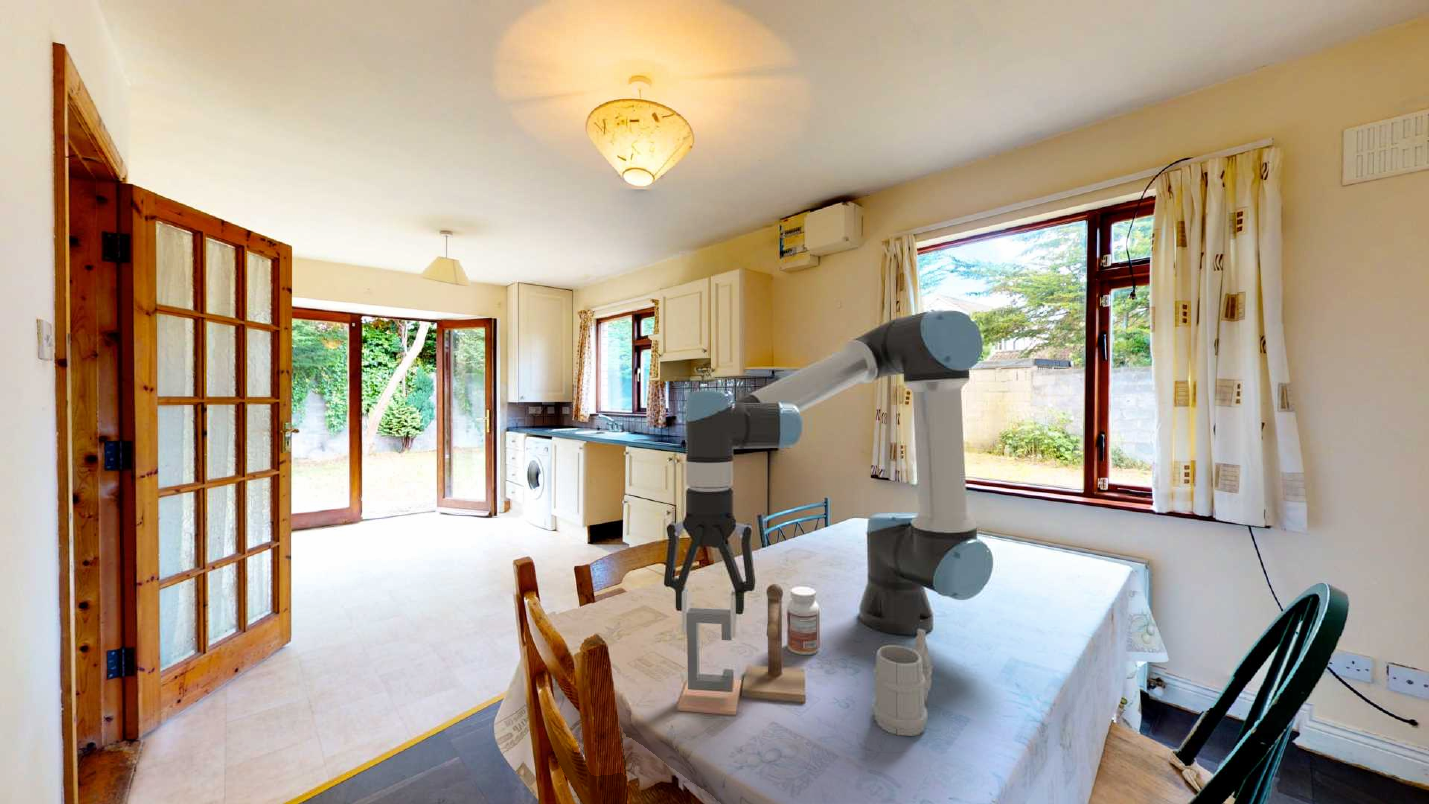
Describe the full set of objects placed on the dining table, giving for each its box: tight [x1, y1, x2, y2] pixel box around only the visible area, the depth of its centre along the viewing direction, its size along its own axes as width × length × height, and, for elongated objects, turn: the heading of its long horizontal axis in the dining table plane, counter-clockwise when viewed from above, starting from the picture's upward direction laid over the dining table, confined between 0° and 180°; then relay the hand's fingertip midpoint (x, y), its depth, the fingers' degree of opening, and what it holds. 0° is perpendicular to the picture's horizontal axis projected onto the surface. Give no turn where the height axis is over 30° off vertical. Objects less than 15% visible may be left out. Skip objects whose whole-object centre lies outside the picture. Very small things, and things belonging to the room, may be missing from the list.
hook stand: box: [741, 583, 807, 703], centre depth 84 cm, size 14×10×16 cm
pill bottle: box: [786, 586, 821, 656], centre depth 100 cm, size 6×6×11 cm
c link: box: [686, 607, 735, 692], centre depth 83 cm, size 7×2×12 cm, turn 81°
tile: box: [676, 679, 743, 716], centre depth 84 cm, size 9×9×1 cm
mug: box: [871, 629, 933, 737], centre depth 78 cm, size 8×12×12 cm, turn 127°
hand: (709, 631), depth 83 cm, fingers closed on c link, 7 cm apart
